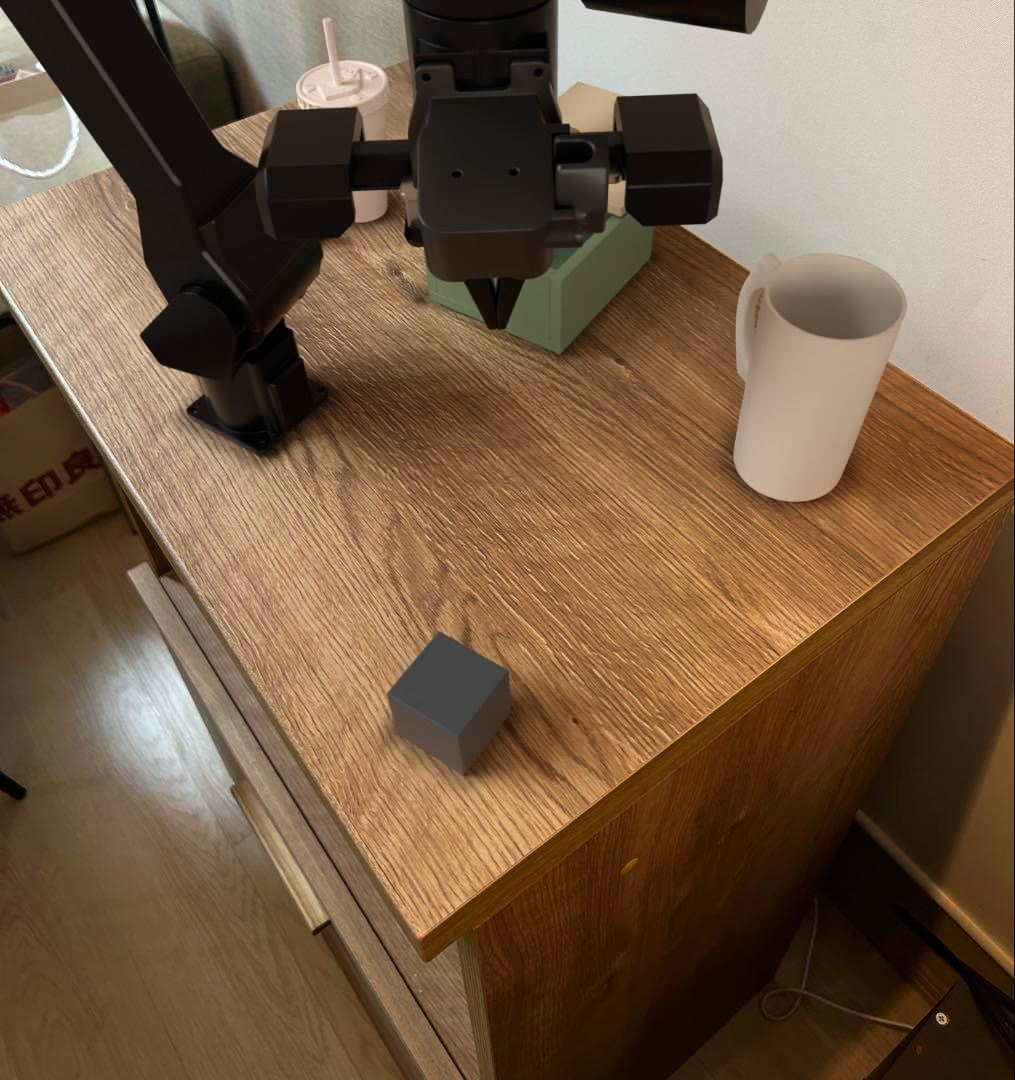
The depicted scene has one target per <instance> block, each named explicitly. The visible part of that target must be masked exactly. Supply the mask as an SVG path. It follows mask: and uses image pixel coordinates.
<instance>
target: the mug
mask: <svg viewBox="0 0 1015 1080" xmlns="http://www.w3.org/2000/svg"><path fill="white" fill-rule="evenodd" d="M762 293H763V294H762ZM761 295H762V298H761V302H760V307H759V311H758V317H757V322H756V325H755V315H756V308H757V303H758V300H759V298H760V296H761ZM907 310H908V301H907V297H906V293H905V292H904V290H903V288H902V287H901V285H900V284H899V283H898V282H897V280H896V279H895V278H894V277H893V276H892V275H890V274H889V273H888V272H886V271H885V270H883V269H882V268H880V267H878V266H877V265H875V264H873V263H870V262H868V261H866V260H863V259H860V258H857V257H854V256H850V255H845V254H838V253H826V252H825V253H821V252H820V253H810V254H804V255H799V256H795V257H793V258H790V259H787V260H785V261H783V262H782V261H780V259H779V258H777V256H776V255H775V254H774V253H773V252H766V253H762V254H761V255H760V256H759V257H758V259H757V263H756V265H755V266H754V268H753V269H752V270H751V272H750V273H749V274H748V276H747V277H746V279H745V281H744V283H743V284H742V287H741V289H740V292H739V296H738V300H737V306H736V313H735V314H736V315H735V355H736V360H735V361H736V374H737V375H738V376H739V377H740V379H741V380H742V381H743V382H745V386H744V392H743V396H742V402H741V407H740V411H739V417H738V422H737V428H736V434H735V442H734V447H733V454H732V456H733V463H734V467H735V470H736V472H737V473H738V475H739V476H740V478H741V479H742V481H743V482H745V484H746V485H748V486H749V487H750V488H751V489H753V490H754V491H755V492H757V493H759V494H761V495H764V496H765V497H767V498H770V499H773V500H776V501H781V502H791V503H801V502H809V501H813V500H816V499H819V498H821V497H824V496H825V495H827V494H828V493H830V492H831V491H832V490H833V489H835V487H836V486H837V485H838V483H839V481H840V480H841V478H842V476H843V473H844V471H845V469H846V466H847V464H848V461H849V459H850V457H851V455H852V452H853V450H854V447H855V445H856V442H857V439H858V437H859V435H860V432H861V429H862V426H863V424H864V421H865V419H866V416H867V414H868V411H869V409H870V407H871V404H872V402H873V399H874V396H875V394H876V391H877V390H878V389H877V388H878V386H879V384H880V381H881V378H882V376H883V373H884V371H885V369H886V366H887V363H888V361H889V359H890V356H891V353H892V351H893V348H894V346H895V344H896V341H897V338H898V335H899V333H900V330H901V327H902V324H903V322H904V319H905V318H906V315H907ZM755 326H756V327H755Z"/></svg>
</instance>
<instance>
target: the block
mask: <svg viewBox="0 0 1015 1080" xmlns="http://www.w3.org/2000/svg"><path fill="white" fill-rule="evenodd" d="M386 696H387V700H388V703H389V707H390V711H391V716H392V719H393V722H394V727H395V730H396V733H397V735H399V736H400V737H401V738H404V740H407V741H408V742H410V743H411V744H413V745H415V746H416V747H417V748H419V749H421V750H423V751H424V752H425V753H427V754H428V755H430V756H432V757H433V758H435V759H436V760H438V761H440V762H441V763H442V764H444V765H446V766H447V767H449V768H450V769H452V770H454V771H456V773H459V774H460V775H461V776H465V775H466V774H467V773H468V771H469V770H470V768H471V767H472V766H473V765H474V763H475V762H476V761H477V759H478V758H479V756H480V755H481V754H482V752H483V751H484V750H485V748H486V747H487V746H488V744H489V743H490V741H492V739H493V737H494V736H495V735H496V734H497V732H498V731H499V729H500V728H501V727H502V725H503V724H504V723H505V722H506V720H507V719H508V717H510V714H511V713H512V703H511V702H512V701H511V684H510V671H509V670H508V669H507V668H505V667H503V666H501V665H499V664H497V663H496V662H495V661H492V660H491V659H489V658H488V657H485V656H484V655H482V654H481V653H478V652H477V651H475V650H474V649H471V648H470V647H468V646H466V645H465V644H464V643H461V642H459V641H458V640H455V639H454V638H452V637H451V636H449V635H448V634H445V633H444V632H442V631H440V630H439V631H437V633H436V634H435V635H434V636H433V638H432V639H431V640H430V641H429V642H428V644H426V645H425V647H424V648H423V649H422V650H421V652H420V653H419V654H418V655H417V656H416V658H415V659H414V660H413V661H412V663H410V664H409V666H408V667H407V668H406V670H405V671H404V672H403V673H402V675H401V676H400V677H399V678H398V679H397V681H395V683H394V684H393V685H392V686H391V688H389V690H388V691H387V692H386Z"/></svg>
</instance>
